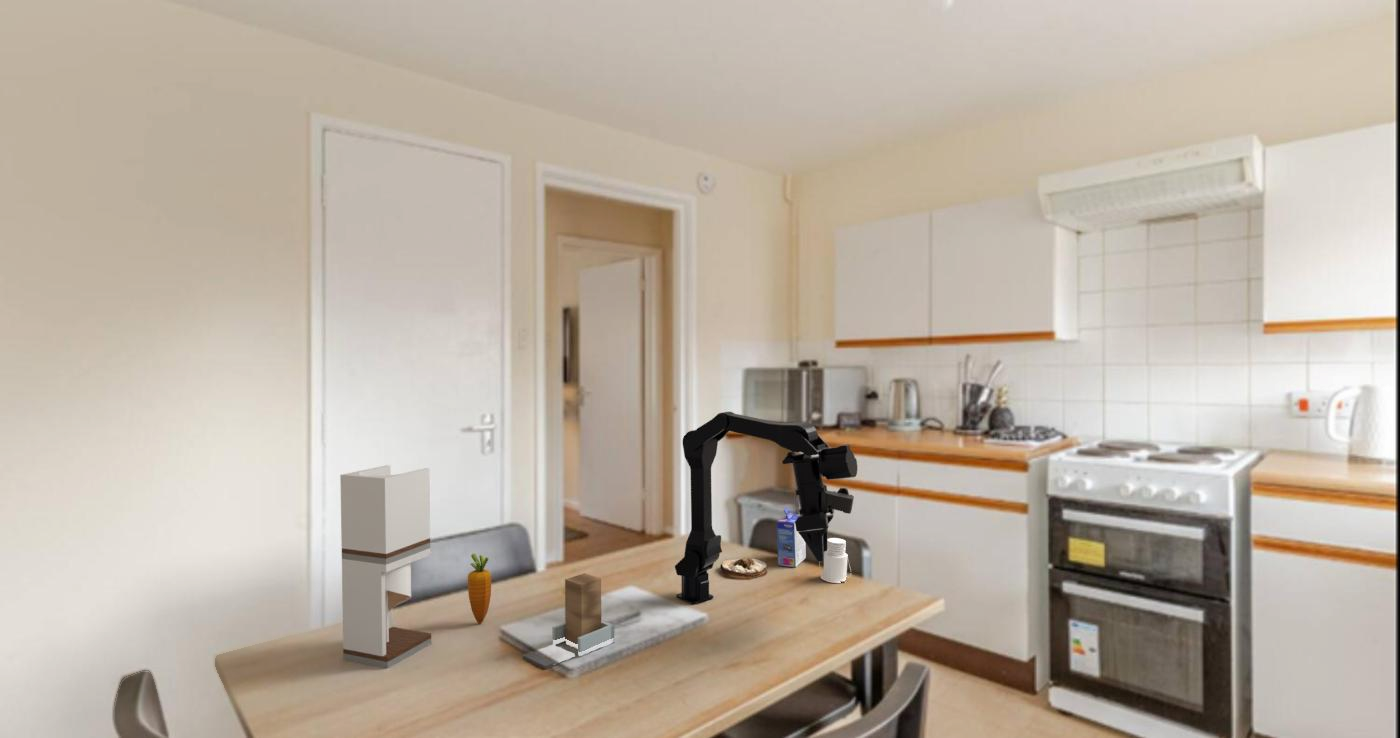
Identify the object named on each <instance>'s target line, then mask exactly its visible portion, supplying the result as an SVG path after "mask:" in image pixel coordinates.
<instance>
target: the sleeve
mask: <svg viewBox="0 0 1400 738" xmlns="http://www.w3.org/2000/svg"><path fill="white" fill-rule="evenodd" d="M551 633H552V639H553V640H557V639H560V638H563V637H565V622H563V623H560V624H559V623H558V624H557V625H555V626H552V632H551ZM612 638H614V639H615V625H614V624H612V623H609V622H606V621H605V620H602V619H601V629H598V630H596V631H593V632H591V633H588V634H586V635H583V636H581V637H578V650H577V652H578V651H579V652H582V651H585V650H587V649H589V648H591V647H593V646H595V645H598V644H600V643H602V642H605V641H607V640H609V639H612ZM522 659H523V660H525V661H528V662H529V663H532V664H533V665H536V666H537V667H540V668H541V669H543V670H548V669H551V668H553V667H554V666H553V664H554V663H553V662H552V661H550V660H548V659H546V658H544V657H542V656H540V655H539V654H536V653H535V652H533V651H531V652H527V653H526V654H523V655H522Z"/></svg>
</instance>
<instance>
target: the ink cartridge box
mask: <svg viewBox="0 0 1400 738" xmlns="http://www.w3.org/2000/svg"><path fill="white" fill-rule="evenodd" d="M783 512H784V514H785V515H784V516H783V517H781V518H780V519H779V520H777V521H776V535H777V538H776V539H777V541H776V542H777V565H778V566H780V567H781V566H783V567H790V568H796V567H798V566H799V565H800V564H801V563H802V562H803V561H804V560H805V559H806V558H807V557H806V556H807V554H806V553H807V552H806V550H807V549H806V545H807V544H806V542H805V541H804V539H803V538H802V537H801V535H800V534H799V533H798V531H796V525H795V521H796V520H797V519H798V517H799V516H800V513H799V514H798V513H792V512H791V510H790V508H789V507H786V508H785V509H784V510H783Z"/></svg>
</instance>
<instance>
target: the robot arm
mask: <svg viewBox="0 0 1400 738" xmlns="http://www.w3.org/2000/svg"><path fill="white" fill-rule="evenodd" d="M730 432H732V433H737V434H741V435H745V436H750V437H753V438H758V439H764V440H767V441H770V442H774V444H776V445H777V446H779V447H781V448H783V449H785V450H788V451H789V452H787V454H786V456H785V457H784V458H783V459H782V462H781V463H782V464H783V465H788V464H789V465H790V464H791V465H792V470H793V474H794V475H793V476H794V481H795V486H796V489H795V495H796V496H797V497H798V503H799V509H798V512H799V515H800V516H799V517H798V519H797V520H796V521H795V525H796V531H798V533H799V534H800V535H801V537H802V538H803V539H804V541H805V542H806V545H807V547H808V548H809V550H810V552H811V553H812V555H813V556H814V558H815V560H816V561H817V562H824V552H825V551H827V542H828V539H829V538H828V534H829V533H828V530H829V527H830V526H829V524H830V522H831V521H832V520H833V519H834V514H835V511H838V512H843V513H844V514H849V515H850V514H851V513H852V512H853V511H852V510H853V505H854V499H855V497H854V495H853V494H850V492H849V490H848V488H846V487H842V486H841V487H840V488H839V489H838V490H837V491H833V490H832V491H831V490H828V487H827V485H826V484H825V483H824V480H823V478H825V479H826V480H827V481H832V480H834V481H835V480H840V479H841V480H842V479H851V478H856V477H857V474H858V461H857V458H856V457H855V454H854V452H853V451H852V449H851V447H850V444H849V443H848V444H842V445H839V446H834V447H833V446H832V447H831V446H830V445H829V444H828V443H827V442H826V441H825V440H824V439H823V438H822V437H821V435H819V434H818V433H819V432H818V430H817V428H816V427H815V426H814V425H813V424H812V423H809V422H797V421H796V422H793V421H792V422H778V421H777V422H776V421H773V420H766V419H762V418H757V417H753V416H747V415H743V414H739V413H734V412H733V411H724V412H719V413H718V414H716V415H715V416H714V417H713V418H712V419H710V420H708V421H707V422H705V423H704V424H702V425H701V426H699V427H697V428H696V429H693V430H689V431H688V432H686V433H685V435H684V436H683V438H682V448H683V454H684V459H685V460H686V462H687V464H688V466H689V470H690V517H691V518H690V519H691V520H690V523H691V526H690V527H691V528H690V532H689V534H688V537H687V540H686V542H685V547H684V556H683V558H681V560H679V561H678V562H677V563H676V564H675V565H674V568H675V572H676V575H677V576H680V577H681V592H680V593H677V594H676V595H675V597H676V598H678V599H680V600H682V601H685V602H687V603H690V605H691V604H692V605H694V604H698V603H702V602H705V601H708V600H711V599H714V595H713V594H710V580H709V573H708V571H709V570H711V569H712V568H713V567H714V565H715V563H716V562H717V561H718V560H719V557H720V554H721V553H723V550H722V544H721V543H722V535H720V534H717V535H716V533H715V531H714V529H713V508H712V506H713V505H712V503H713V501H712V498H713V497H712V467H713V464H714V460H715V458H716V456H717V451H718V443H719V441H721V440H722V439H724V438H725V437H726V435H727V434H728V433H730ZM816 455H817V456H816ZM828 514H829V515H828Z"/></svg>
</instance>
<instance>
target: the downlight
mask: <svg viewBox="0 0 1400 738" xmlns="http://www.w3.org/2000/svg"><path fill="white" fill-rule="evenodd" d="M846 542H847V541H846V540H845V539H843V538H838V537H830V538H828V542H827V551H823V570H822V568H821V564H820V563H821V561H818V562H819V564H818V565H819V569H820V572H821V574H820V579H822V581H825V582H828V583H831V584H832V583H834V584H842V583H841V582H840V581H845V580H846V577H848V576H847V574H848V565H849V569H850V571H852V569H851V566H850V565H851V564H850V561H849V560H848V559H849V557H848V556H849V555H848V553H846V550H847V549H846V546H847V543H846ZM822 571H823V572H822ZM850 577H852V574H850Z"/></svg>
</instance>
